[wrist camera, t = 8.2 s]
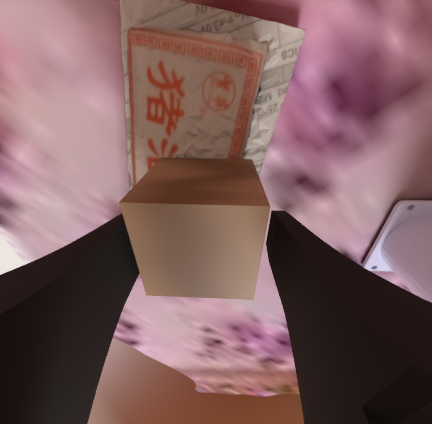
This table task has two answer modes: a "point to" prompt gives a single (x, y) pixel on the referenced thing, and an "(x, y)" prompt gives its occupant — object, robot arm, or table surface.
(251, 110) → the packaged product
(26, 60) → the table surface
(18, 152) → the table surface
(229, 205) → the tan cube
